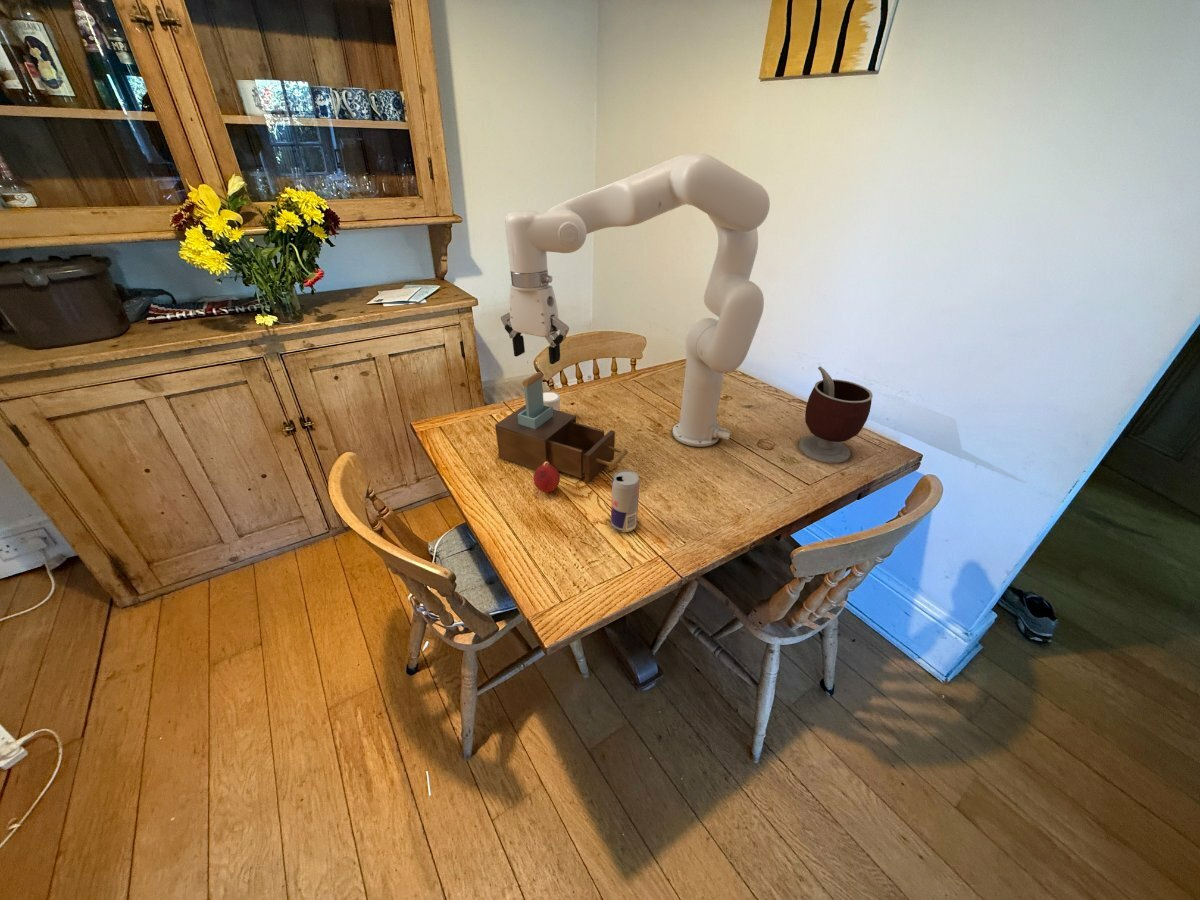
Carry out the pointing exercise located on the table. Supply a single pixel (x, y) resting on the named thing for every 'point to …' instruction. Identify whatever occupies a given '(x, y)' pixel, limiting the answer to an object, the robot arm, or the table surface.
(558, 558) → the table surface
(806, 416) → the mate gourd
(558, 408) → the brown white round container
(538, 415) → the caddy
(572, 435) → the drawer
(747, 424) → the table surface
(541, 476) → the onion
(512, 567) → the table surface
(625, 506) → the energy drink
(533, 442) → the cabinet
